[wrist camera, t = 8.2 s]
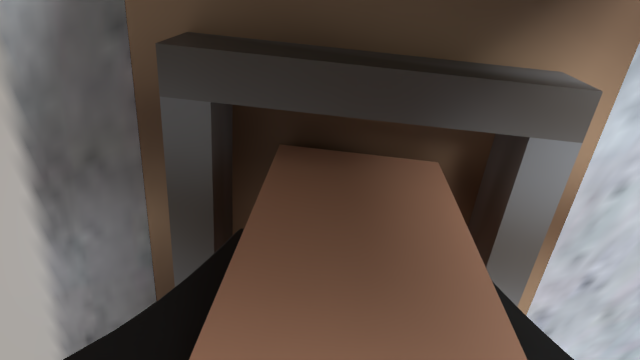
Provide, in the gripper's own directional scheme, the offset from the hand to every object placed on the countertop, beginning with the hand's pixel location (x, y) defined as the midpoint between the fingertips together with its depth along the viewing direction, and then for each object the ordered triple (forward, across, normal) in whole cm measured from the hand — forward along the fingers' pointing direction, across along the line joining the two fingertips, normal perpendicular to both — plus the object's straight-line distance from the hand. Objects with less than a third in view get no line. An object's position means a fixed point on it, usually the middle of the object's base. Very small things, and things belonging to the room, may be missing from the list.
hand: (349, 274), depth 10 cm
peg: (+2, 0, 0) cm, 2 cm away
